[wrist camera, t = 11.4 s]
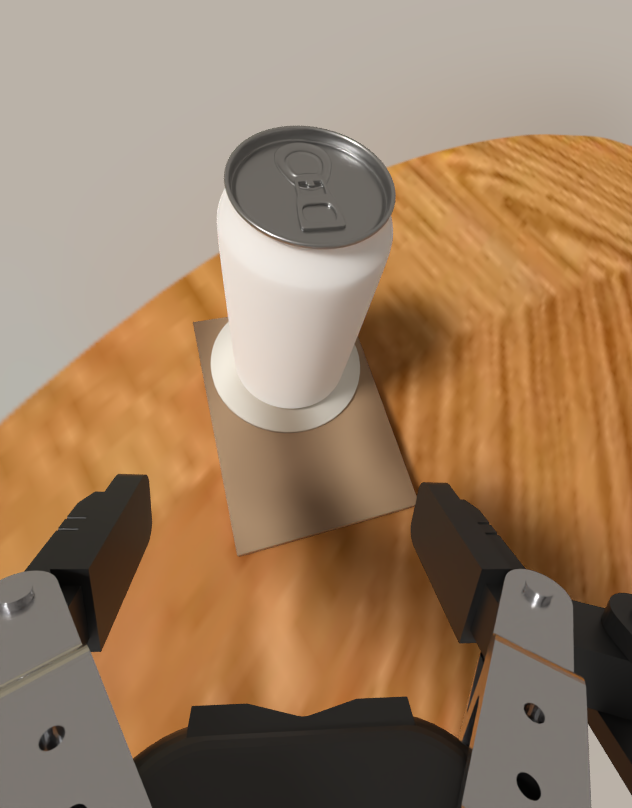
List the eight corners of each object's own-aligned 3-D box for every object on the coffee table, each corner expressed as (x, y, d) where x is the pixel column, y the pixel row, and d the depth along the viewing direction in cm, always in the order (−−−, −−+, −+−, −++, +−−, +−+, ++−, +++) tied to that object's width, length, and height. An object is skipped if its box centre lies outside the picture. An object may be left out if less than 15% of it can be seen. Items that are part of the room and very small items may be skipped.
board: (338, 307, 28) (343, 290, 26) (410, 508, 23) (421, 503, 21) (195, 329, 26) (190, 312, 24) (239, 556, 21) (236, 555, 19)
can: (328, 312, 25) (377, 115, 15) (354, 402, 23) (435, 248, 12) (227, 324, 24) (198, 118, 13) (244, 420, 22) (225, 266, 11)
